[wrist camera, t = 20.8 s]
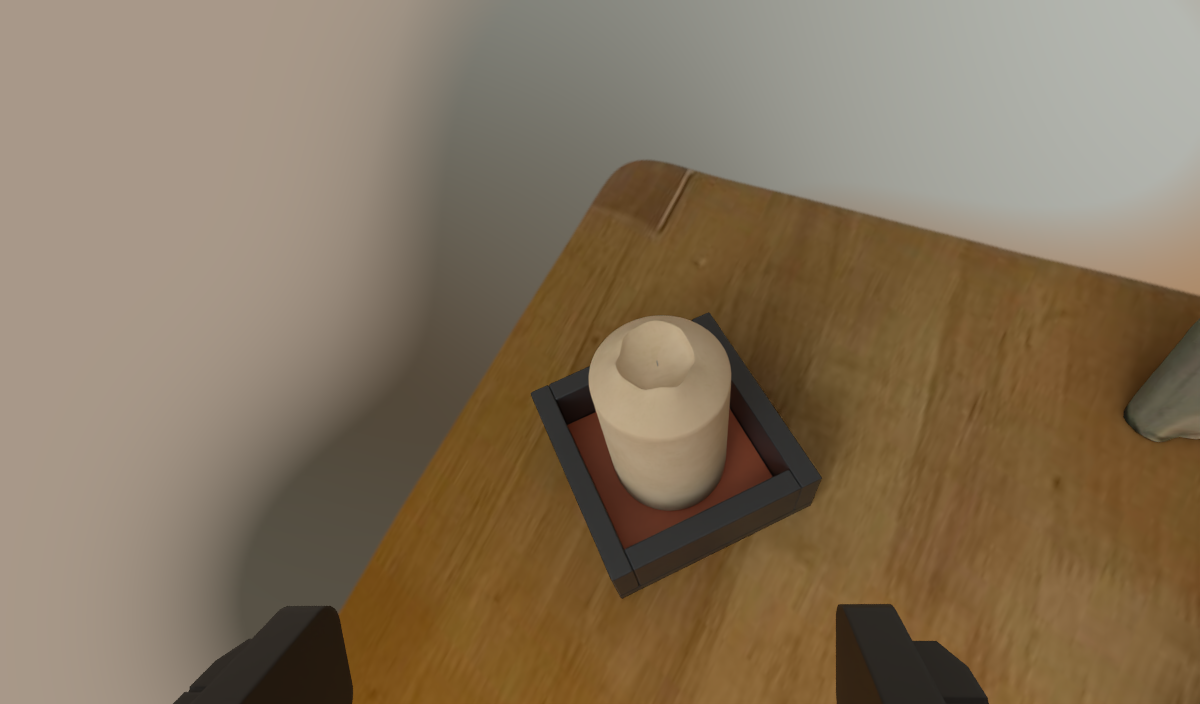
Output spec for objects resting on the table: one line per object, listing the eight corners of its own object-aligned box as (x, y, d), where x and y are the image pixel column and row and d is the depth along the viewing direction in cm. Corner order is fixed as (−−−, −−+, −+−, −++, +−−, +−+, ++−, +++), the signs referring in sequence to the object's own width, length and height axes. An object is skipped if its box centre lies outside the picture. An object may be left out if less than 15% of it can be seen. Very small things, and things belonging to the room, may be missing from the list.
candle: (744, 488, 31) (759, 388, 22) (637, 529, 30) (610, 444, 22) (698, 394, 34) (695, 274, 25) (599, 431, 33) (563, 322, 25)
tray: (621, 599, 30) (611, 581, 27) (544, 423, 35) (529, 392, 32) (811, 504, 31) (822, 477, 28) (708, 348, 36) (709, 311, 33)
